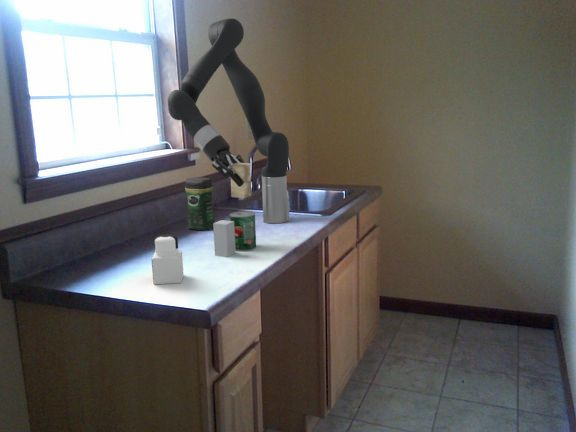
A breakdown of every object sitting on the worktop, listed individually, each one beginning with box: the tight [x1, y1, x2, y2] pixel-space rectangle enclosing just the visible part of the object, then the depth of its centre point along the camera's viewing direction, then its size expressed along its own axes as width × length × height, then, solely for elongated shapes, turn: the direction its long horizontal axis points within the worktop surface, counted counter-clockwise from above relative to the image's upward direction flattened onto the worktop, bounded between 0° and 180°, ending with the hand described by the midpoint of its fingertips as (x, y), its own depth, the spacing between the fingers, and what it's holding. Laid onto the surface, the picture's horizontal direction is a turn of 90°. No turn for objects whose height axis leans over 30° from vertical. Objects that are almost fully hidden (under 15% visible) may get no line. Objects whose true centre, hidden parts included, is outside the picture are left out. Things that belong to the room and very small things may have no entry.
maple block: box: [230, 162, 252, 199], centre depth 178 cm, size 4×4×10 cm
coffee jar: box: [184, 176, 216, 231], centre depth 208 cm, size 10×8×19 cm
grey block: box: [212, 219, 237, 258], centre depth 175 cm, size 4×4×10 cm
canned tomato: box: [229, 210, 257, 252], centre depth 182 cm, size 8×8×11 cm
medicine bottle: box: [151, 233, 184, 285], centre depth 152 cm, size 7×7×12 cm
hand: (246, 183), depth 178 cm, fingers closed on maple block, 4 cm apart
